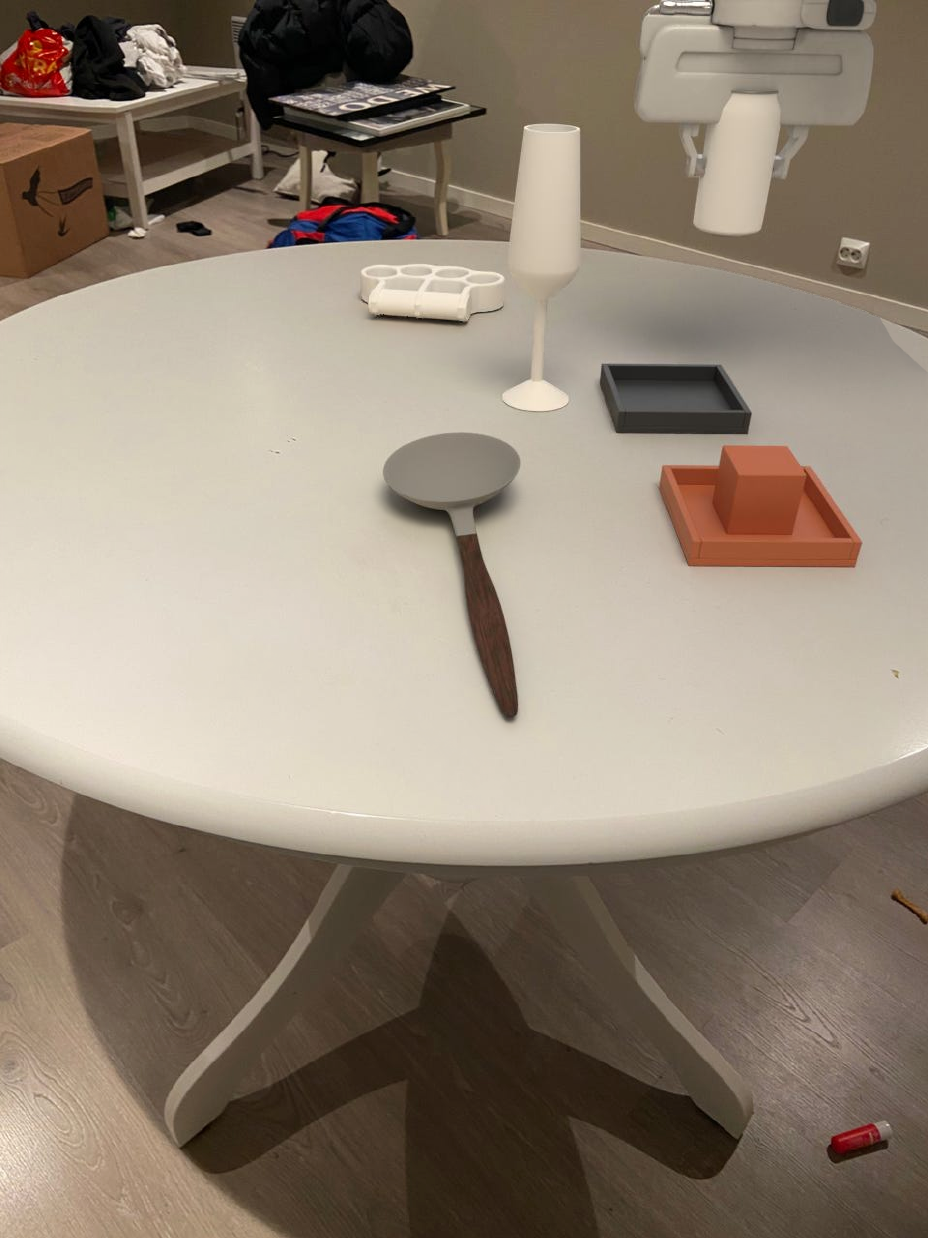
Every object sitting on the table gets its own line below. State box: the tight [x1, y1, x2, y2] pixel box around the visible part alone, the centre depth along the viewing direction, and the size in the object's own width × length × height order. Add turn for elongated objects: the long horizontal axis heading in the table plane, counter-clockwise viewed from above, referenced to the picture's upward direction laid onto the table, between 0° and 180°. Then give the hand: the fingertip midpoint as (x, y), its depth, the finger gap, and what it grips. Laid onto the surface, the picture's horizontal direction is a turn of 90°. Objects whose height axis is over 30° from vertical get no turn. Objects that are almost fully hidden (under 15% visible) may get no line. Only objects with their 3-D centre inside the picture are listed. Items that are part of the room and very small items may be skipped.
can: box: [692, 90, 782, 238], centre depth 88 cm, size 6×6×12 cm
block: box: [712, 444, 807, 534], centre depth 73 cm, size 5×5×5 cm
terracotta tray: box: [658, 464, 863, 568], centre depth 74 cm, size 12×12×2 cm
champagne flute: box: [501, 123, 582, 412], centre depth 88 cm, size 7×7×24 cm
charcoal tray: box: [599, 362, 753, 435], centre depth 92 cm, size 12×12×2 cm
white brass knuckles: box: [359, 263, 506, 323], centre depth 117 cm, size 3×18×15 cm
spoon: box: [382, 431, 521, 718], centre depth 68 cm, size 11×33×3 cm, turn 8°
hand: (735, 177), depth 89 cm, fingers closed on can, 6 cm apart
